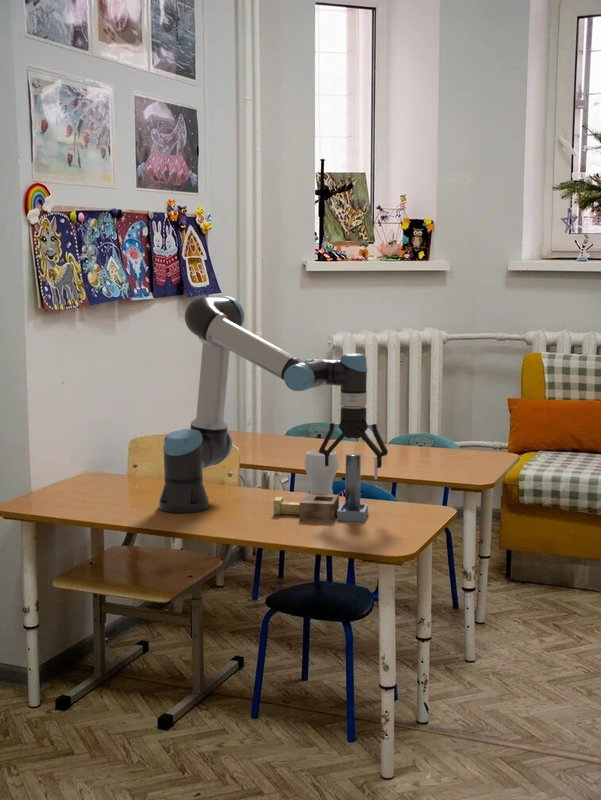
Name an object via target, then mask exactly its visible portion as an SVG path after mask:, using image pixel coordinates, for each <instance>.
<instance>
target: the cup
mask: <svg viewBox="0 0 601 800" xmlns="http://www.w3.org/2000/svg"><path fill="white" fill-rule="evenodd" d="M330 454H331V455H332V477H331V478H328V471H329V466H325V455H324V454H322V453H319V449H317V450H316V449H314V450H309V451H307V452H306V454H305V458H304V469H305V472H306V474H307V477H308V479H309V483H310V485H309V486H310V490H309V493H310V494H334V492H333V483H334V479H335V477H336V475H337V472H338V468H339V459H338V453H337V452H336V451H334V450H332V451H331V453H330Z"/></svg>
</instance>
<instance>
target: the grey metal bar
mask: <svg viewBox="0 0 601 800" xmlns="http://www.w3.org/2000/svg"><path fill="white" fill-rule="evenodd" d="M361 459H362V458H361V454H358V453H347V454H345V481H344V483H345V493H344V494H345V495H344V496H345V497H344V498H345V500H344V503H345V511H360V504H361Z"/></svg>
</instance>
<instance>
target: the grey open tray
mask: <svg viewBox="0 0 601 800" xmlns="http://www.w3.org/2000/svg"><path fill="white" fill-rule="evenodd" d="M367 513H368V514H369V504H368V503H360V511H345V502H342V503H341V504H339V509H338V511H337V515H336V516H337V518H336V520H337V521H348V522H349V521H351V522H365V520H366V519H367V516H368V514H367ZM365 518H366V519H365Z"/></svg>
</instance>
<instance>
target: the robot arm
mask: <svg viewBox="0 0 601 800" xmlns="http://www.w3.org/2000/svg"><path fill="white" fill-rule="evenodd" d="M184 321H185V324H186V327H187V328H188V330H189V331H190V332H191V333H192V334H194V335H195V336H197V337H198V339H199V341H200V342H201V344H202V348H201V350H202V351H201V360H200V371H199V380H198V381H199V382H198V395H197V404H196V405H197V406H196V418H194V419H193V420H192V421H190V428H185V429H179V430H174V431H171V432H169V433H167V434H166V435H165V437H164V439H163V449H162V450H163V465H164V467H163V471H164V473H163V474H164V485H163V488H162V491H161V494H160V497H159V502H158V503H159V504H158V506H159V509H160V510H161V511H163V512H167V513H173V514H189V513H197V512H202V511H205V510H208V509H209V506H210V505H209V504H210V503H209V501H210V500H209V497H208V494H207V491H206V488H205V485H204V482H203V481H204V479H203V476H204V475H203V473H204V472H203V470H204V469H205V468H208V467H211V466H216V465H219V464H220V463H221V462H223V461H224V460H225V461H226V459H227V458H228V457H229V456H230V453H231V451H232V448H233V439H232V436H231V435H230V433H229V431H228V424H227V423H226V422H225V420H224V415H225V407H226V406H225V405H226V394H227V386H228V385H227V382H228V374H229V373H228V372H229V365H230V364H229V361H230V352H232V353H234V354H236V355H237V356H240V358H243V359H245V360H246V361H248V362H250V363H252V364H253V365H255V366H258V367H259V368H261V369H263V370H264V371H266V372H268V373H270V374H272V375H274V376H275V377H277V378H279V379H281V380H282V381H284V383H285V385H286V386H287V388H288V389H289V390H291V391H292V392H293V391H294V392H303V391H307V390H310V389H313V388H318V387H320V386H321V387H322V386H337V387H339V386H340V405H341V407H340V421H339V423H337V422H336V421H335V422H334V421H331V422H330V423H329V427H328V428H329V429H328V431H327V434H326V435H325V437H324V440H323V442H322V444H321V445H320V447H319V449H318V450H319V453H322V454H324V455H325V466H329V471H328V478H331V477H332V455H331V454H330V453H331V451H334V450H335V448H336V447H337V445H339V443H340V442H342V441H343V439H344V438H347V439H355V440H357V439H360V438H361V439H362V440H363V441H364V442H365V443H366V445H367V446H368V447H369V448H370V449H371V451H372V452H373V453H374V454H375V456H374V459H373V460H374V464H373V465H374V468H373V470H374V471H373V472H374V474H373V477H374V478H373V479H374V480H378V477H379V473H378V472H379V469H380V468H381V467H382V466H383V465H382V462H383V461H382V458H383V457H386V456H387V455H388V453H389V451H388V449H387V446H386V445H385V442H384V441H383V438H382V437H381V435H380V432H379V431H378V424H377V422H374V423H369V424H368V423H367V408H366V406H367V400H368V399H367V396H368V395H367V381H368V380H367V375H368V365H367V364H368V363H367V356H366V355H365V354H363V353H343V354H342V355H341V356H340V359H322V358H321V359H320V358H307V359H305V360H304V361H303V360H301V359H300V358H298V357H296V355H295V356H294V355H293V354H291V353H289V352H288V351H286V350H284V349H282V348H280V347H278V346H276V345H275V344H272V343H271V342H269V341H267V340H265V339H263V338H261V337H260V336H258V335H256V334H254V333H253V332H251V331H250V330H247V329H245V328H243V327H242V326H243V325H244V321H245V312H244V309H243V307H242V305H241V304H240V302H239V301H238V300H237V299H235V298H234V297H233V296H228V295H220V294H219V295H215V296H214V295H212V296H202V297H201V296H200V297H197V298H195V299H192V301H190V303H189V304H188V305H187V307H186V308H185V312H184ZM337 428H339V430H340V431H341V434H340V435H339V436H338V437H337V438H336V440H335V441H333V443H332V444H331V445H330V446H329V448H327V449H326V447H327V445H328V444H329V441H330V439H331V438H332V436H333V434H334V431H336V430H338V429H337ZM368 429H369V431H370V432H372V433H373V437H374V438H375V440H376V443H377V444H378V446H379V447H377V446H376V444H375V443H374V442H373V441H372V439H371V438H370V437H369V435H368V434H367V433H366V431H367V430H368ZM379 448H380V449H379Z"/></svg>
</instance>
